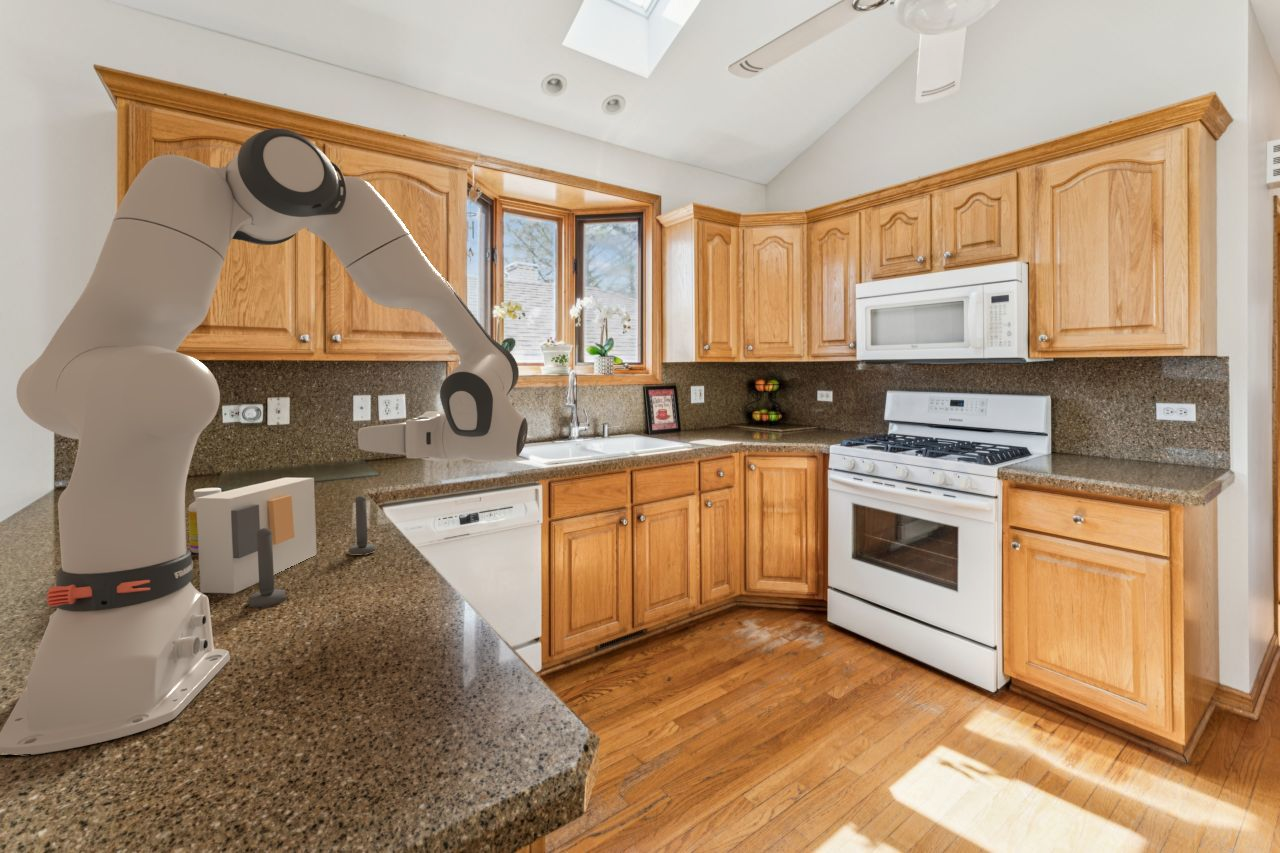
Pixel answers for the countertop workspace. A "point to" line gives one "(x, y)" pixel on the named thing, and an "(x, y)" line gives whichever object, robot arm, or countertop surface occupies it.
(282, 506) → the orange paddle
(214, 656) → the robot arm
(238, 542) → the black paddle
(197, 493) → the supplement bottle
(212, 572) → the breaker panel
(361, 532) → the post
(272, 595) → the post
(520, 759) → the countertop surface
